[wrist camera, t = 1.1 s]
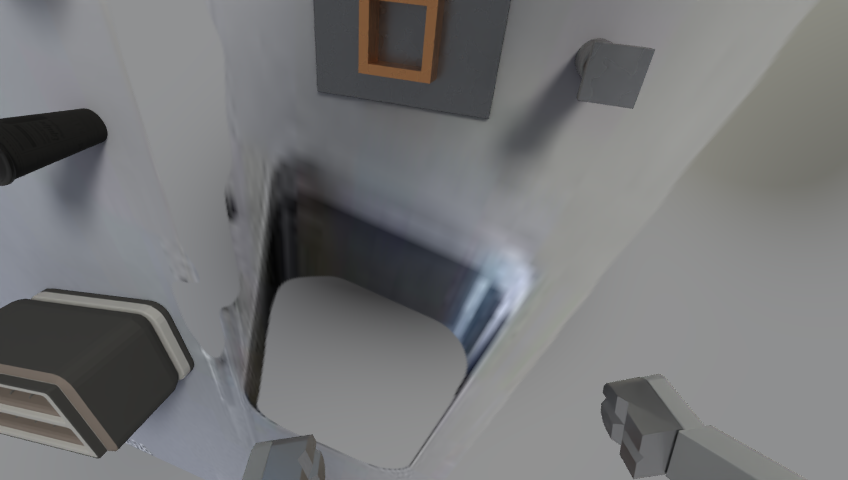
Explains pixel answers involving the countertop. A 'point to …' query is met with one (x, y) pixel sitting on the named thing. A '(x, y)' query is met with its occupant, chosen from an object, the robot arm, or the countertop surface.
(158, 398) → the toaster
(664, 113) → the countertop surface
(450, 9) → the grey base plate
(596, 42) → the square-headed pin
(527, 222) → the countertop surface
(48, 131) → the drinking cup
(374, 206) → the countertop surface
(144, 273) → the countertop surface
